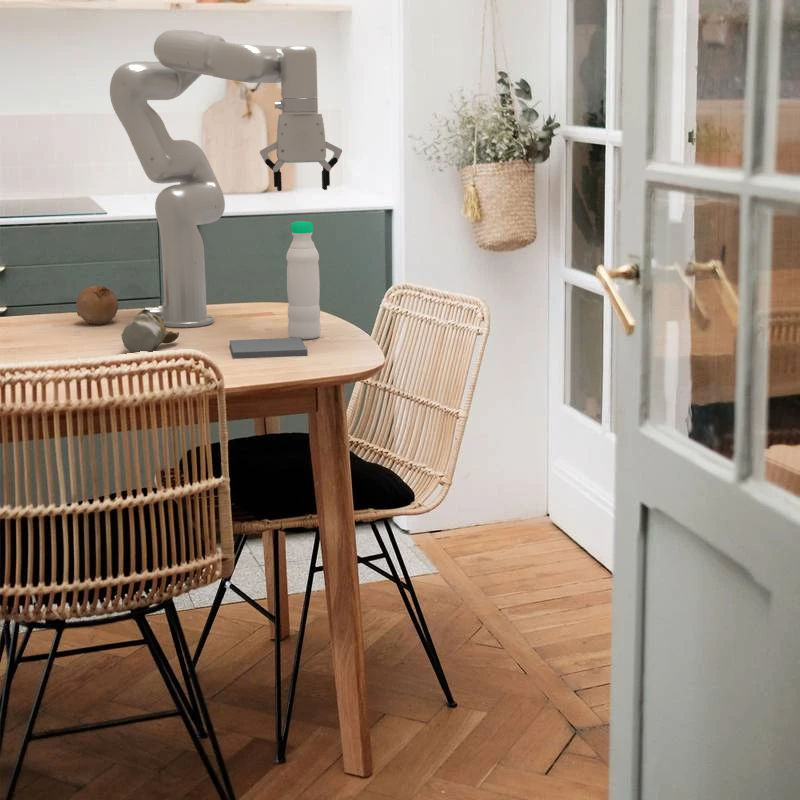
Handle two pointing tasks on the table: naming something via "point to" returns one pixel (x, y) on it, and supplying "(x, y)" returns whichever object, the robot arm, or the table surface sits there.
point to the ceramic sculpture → (146, 333)
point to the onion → (97, 305)
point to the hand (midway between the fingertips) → (302, 190)
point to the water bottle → (303, 283)
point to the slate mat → (267, 347)
